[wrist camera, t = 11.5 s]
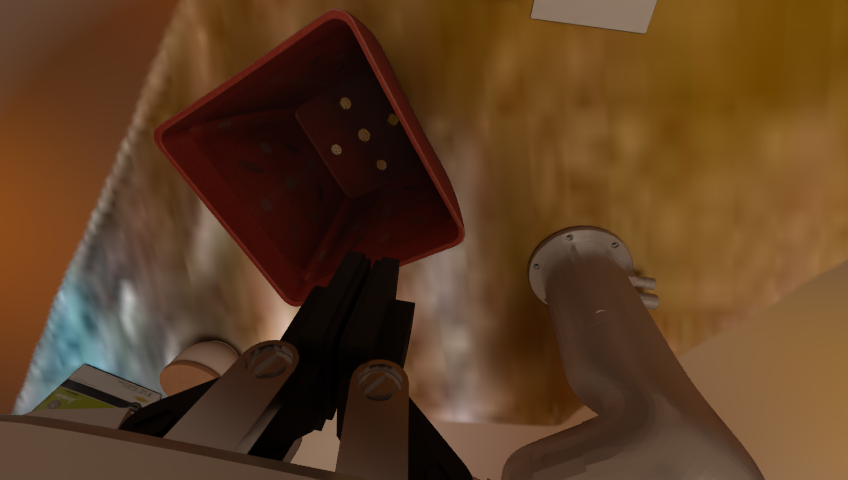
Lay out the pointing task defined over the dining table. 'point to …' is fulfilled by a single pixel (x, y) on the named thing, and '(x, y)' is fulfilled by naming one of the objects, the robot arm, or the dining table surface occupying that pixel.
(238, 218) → the plant pot
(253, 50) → the dining table surface
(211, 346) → the lidded jar
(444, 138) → the dining table surface
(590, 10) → the mat
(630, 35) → the dining table surface
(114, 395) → the tea box
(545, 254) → the robot arm
